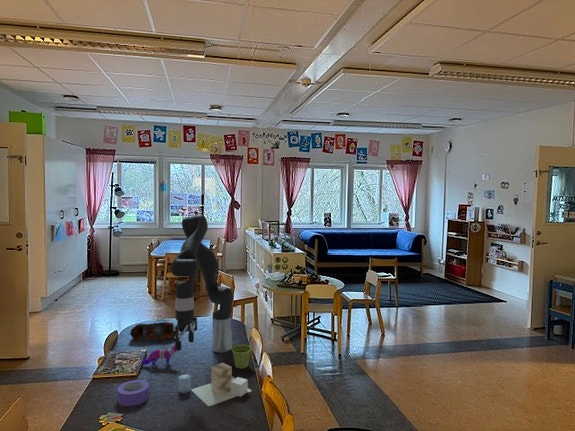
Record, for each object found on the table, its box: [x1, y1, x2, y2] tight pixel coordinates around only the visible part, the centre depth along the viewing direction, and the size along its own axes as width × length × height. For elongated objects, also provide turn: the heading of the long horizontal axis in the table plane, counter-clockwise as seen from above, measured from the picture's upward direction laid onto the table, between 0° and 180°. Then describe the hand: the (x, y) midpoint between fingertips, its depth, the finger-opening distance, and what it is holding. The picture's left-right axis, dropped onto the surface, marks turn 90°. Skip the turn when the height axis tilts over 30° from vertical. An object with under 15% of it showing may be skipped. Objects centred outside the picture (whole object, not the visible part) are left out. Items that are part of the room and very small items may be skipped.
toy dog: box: [141, 344, 181, 368], centre depth 194 cm, size 4×18×10 cm, turn 97°
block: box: [231, 376, 249, 398], centre depth 169 cm, size 5×5×5 cm
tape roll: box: [117, 379, 150, 407], centre depth 164 cm, size 12×12×5 cm
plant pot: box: [230, 344, 252, 369], centre depth 194 cm, size 9×9×9 cm
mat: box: [190, 375, 252, 407], centre depth 171 cm, size 20×16×1 cm
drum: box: [178, 374, 192, 394], centre depth 170 cm, size 5×5×6 cm
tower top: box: [210, 362, 233, 384], centre depth 170 cm, size 6×6×5 cm
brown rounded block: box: [129, 321, 176, 343], centre depth 232 cm, size 25×13×17 cm
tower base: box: [211, 379, 231, 395], centre depth 171 cm, size 6×6×5 cm
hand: (184, 345), depth 169 cm, fingers open, 8 cm apart
